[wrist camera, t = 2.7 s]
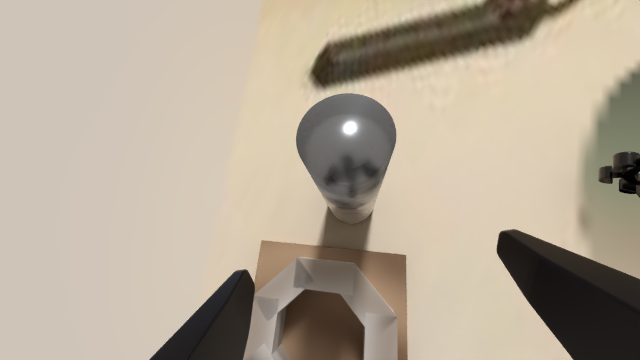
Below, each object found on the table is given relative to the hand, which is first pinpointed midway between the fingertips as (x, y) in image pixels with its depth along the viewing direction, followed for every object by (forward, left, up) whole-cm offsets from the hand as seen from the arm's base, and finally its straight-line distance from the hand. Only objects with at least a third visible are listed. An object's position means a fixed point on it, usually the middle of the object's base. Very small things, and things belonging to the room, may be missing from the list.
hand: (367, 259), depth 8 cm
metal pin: (+4, -3, -11) cm, 12 cm away
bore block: (-1, +6, -11) cm, 13 cm away
